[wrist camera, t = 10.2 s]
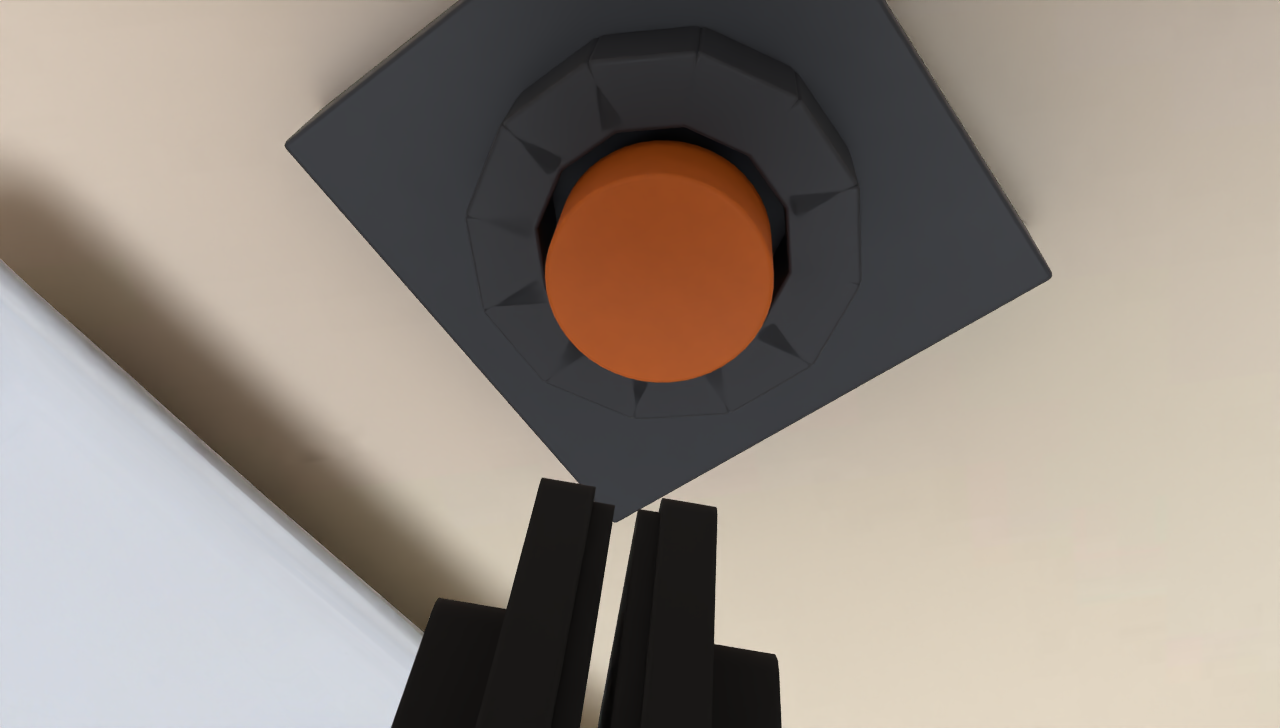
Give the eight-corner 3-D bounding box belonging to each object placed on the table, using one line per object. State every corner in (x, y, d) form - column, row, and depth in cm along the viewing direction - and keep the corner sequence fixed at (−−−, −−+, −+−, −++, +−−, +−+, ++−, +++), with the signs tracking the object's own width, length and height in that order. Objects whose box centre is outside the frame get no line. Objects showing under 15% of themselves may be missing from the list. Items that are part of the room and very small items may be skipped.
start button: (516, 216, 20) (497, 257, 18) (690, 95, 19) (685, 128, 17) (641, 371, 21) (634, 420, 20) (812, 266, 20) (818, 311, 18)
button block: (318, 110, 23) (243, 179, 19) (744, -227, 20) (746, -218, 16) (623, 467, 26) (605, 581, 23) (1029, 232, 23) (1081, 322, 20)
